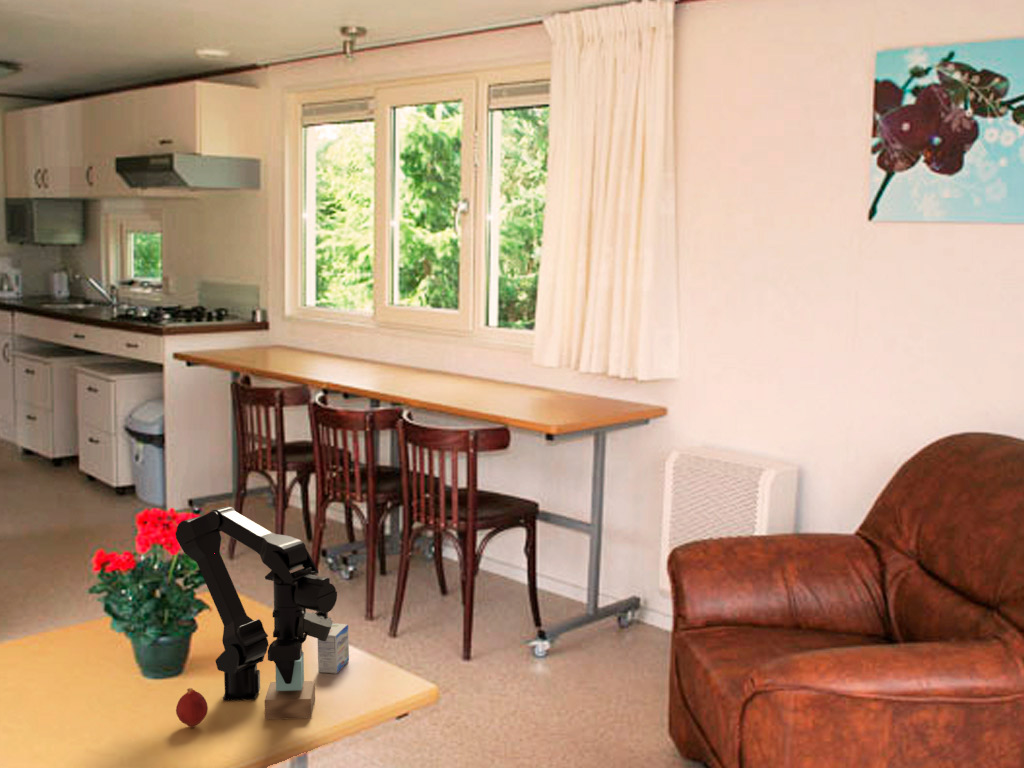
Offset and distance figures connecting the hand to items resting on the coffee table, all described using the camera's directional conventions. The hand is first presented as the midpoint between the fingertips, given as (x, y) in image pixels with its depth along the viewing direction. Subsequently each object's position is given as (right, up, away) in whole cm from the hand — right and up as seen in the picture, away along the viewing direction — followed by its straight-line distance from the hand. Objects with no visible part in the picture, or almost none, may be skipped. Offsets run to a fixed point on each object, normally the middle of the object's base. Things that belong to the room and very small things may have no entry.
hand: (289, 678), depth 225 cm
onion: (-17, -8, -8) cm, 20 cm away
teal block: (0, -2, 0) cm, 2 cm away
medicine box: (+5, -4, +23) cm, 24 cm away
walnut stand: (0, -6, +1) cm, 6 cm away
